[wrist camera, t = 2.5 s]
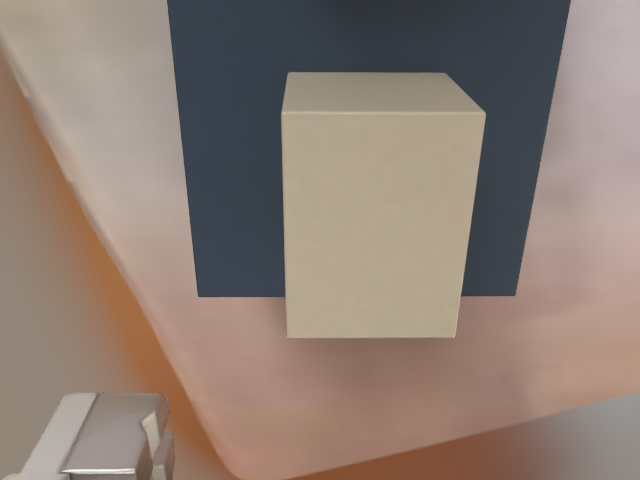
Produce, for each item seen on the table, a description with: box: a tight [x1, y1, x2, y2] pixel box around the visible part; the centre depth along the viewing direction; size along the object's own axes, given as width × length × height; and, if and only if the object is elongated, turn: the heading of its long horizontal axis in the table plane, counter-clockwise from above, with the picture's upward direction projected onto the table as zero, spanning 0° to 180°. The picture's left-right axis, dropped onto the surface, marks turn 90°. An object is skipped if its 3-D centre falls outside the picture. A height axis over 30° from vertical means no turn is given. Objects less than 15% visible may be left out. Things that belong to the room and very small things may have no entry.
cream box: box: [281, 72, 486, 339], centre depth 17 cm, size 6×5×5 cm
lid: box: [167, 0, 571, 297], centre depth 16 cm, size 15×12×5 cm
